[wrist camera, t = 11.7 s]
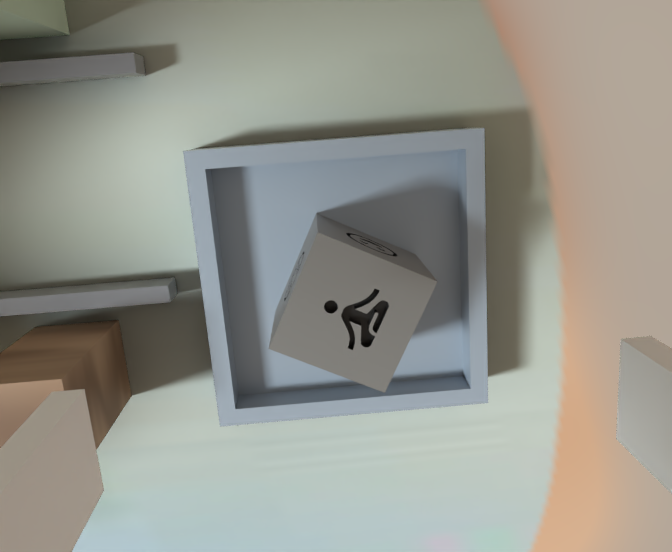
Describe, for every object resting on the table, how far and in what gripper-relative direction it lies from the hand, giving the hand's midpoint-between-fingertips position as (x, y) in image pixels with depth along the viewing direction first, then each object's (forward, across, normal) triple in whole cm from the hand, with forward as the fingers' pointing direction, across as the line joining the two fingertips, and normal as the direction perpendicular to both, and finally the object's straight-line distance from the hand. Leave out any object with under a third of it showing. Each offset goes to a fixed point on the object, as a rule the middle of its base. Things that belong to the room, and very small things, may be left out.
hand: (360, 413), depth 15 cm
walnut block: (+15, +12, +4) cm, 20 cm away
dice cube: (+14, -1, 0) cm, 14 cm away
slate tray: (+15, -1, 0) cm, 15 cm away
